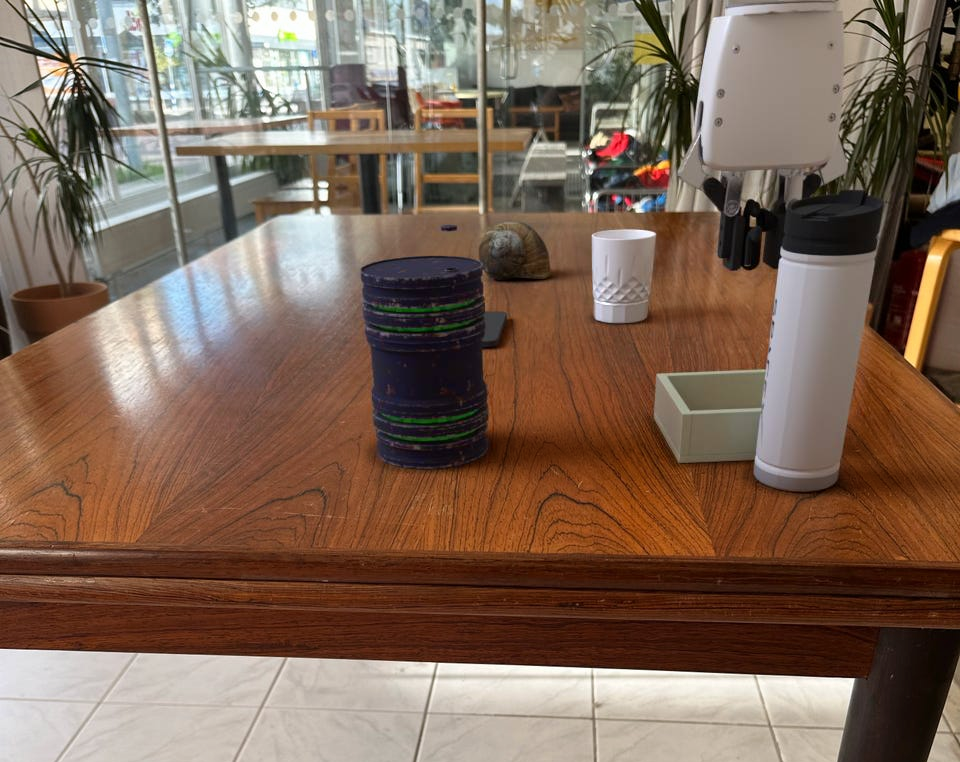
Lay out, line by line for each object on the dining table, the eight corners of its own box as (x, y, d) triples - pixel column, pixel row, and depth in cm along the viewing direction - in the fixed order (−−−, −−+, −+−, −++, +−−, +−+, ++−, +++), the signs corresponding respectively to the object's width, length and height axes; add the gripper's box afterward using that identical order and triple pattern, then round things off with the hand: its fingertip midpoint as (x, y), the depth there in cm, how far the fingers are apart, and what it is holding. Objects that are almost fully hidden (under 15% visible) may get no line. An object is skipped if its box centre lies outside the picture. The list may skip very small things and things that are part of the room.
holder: (779, 413, 86) (785, 368, 84) (820, 457, 77) (828, 408, 74) (653, 418, 87) (656, 373, 84) (678, 463, 77) (682, 414, 74)
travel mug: (852, 473, 73) (903, 191, 63) (815, 499, 69) (862, 202, 59) (778, 456, 77) (814, 187, 67) (738, 480, 73) (770, 197, 63)
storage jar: (352, 456, 81) (327, 230, 71) (421, 423, 88) (406, 213, 78) (446, 477, 76) (433, 237, 66) (511, 440, 83) (507, 218, 73)
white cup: (619, 308, 126) (622, 227, 120) (664, 317, 120) (669, 233, 115) (576, 318, 121) (578, 235, 116) (621, 328, 116) (625, 241, 111)
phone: (434, 341, 110) (451, 311, 123) (434, 348, 111) (451, 318, 123) (497, 341, 109) (508, 311, 122) (497, 348, 110) (508, 317, 123)
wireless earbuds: (728, 261, 79) (732, 195, 76) (758, 259, 79) (763, 193, 76) (746, 277, 73) (751, 206, 70) (779, 275, 73) (785, 204, 70)
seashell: (476, 284, 143) (474, 227, 139) (482, 272, 151) (480, 218, 147) (551, 282, 142) (551, 225, 138) (552, 271, 150) (552, 216, 146)
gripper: (876, -11, 69) (836, 255, 79) (656, -2, 70) (643, 263, 79) (918, -19, 63) (868, 271, 73) (676, -9, 63) (659, 280, 73)
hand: (751, 264), depth 76 cm, fingers closed on wireless earbuds, 2 cm apart
